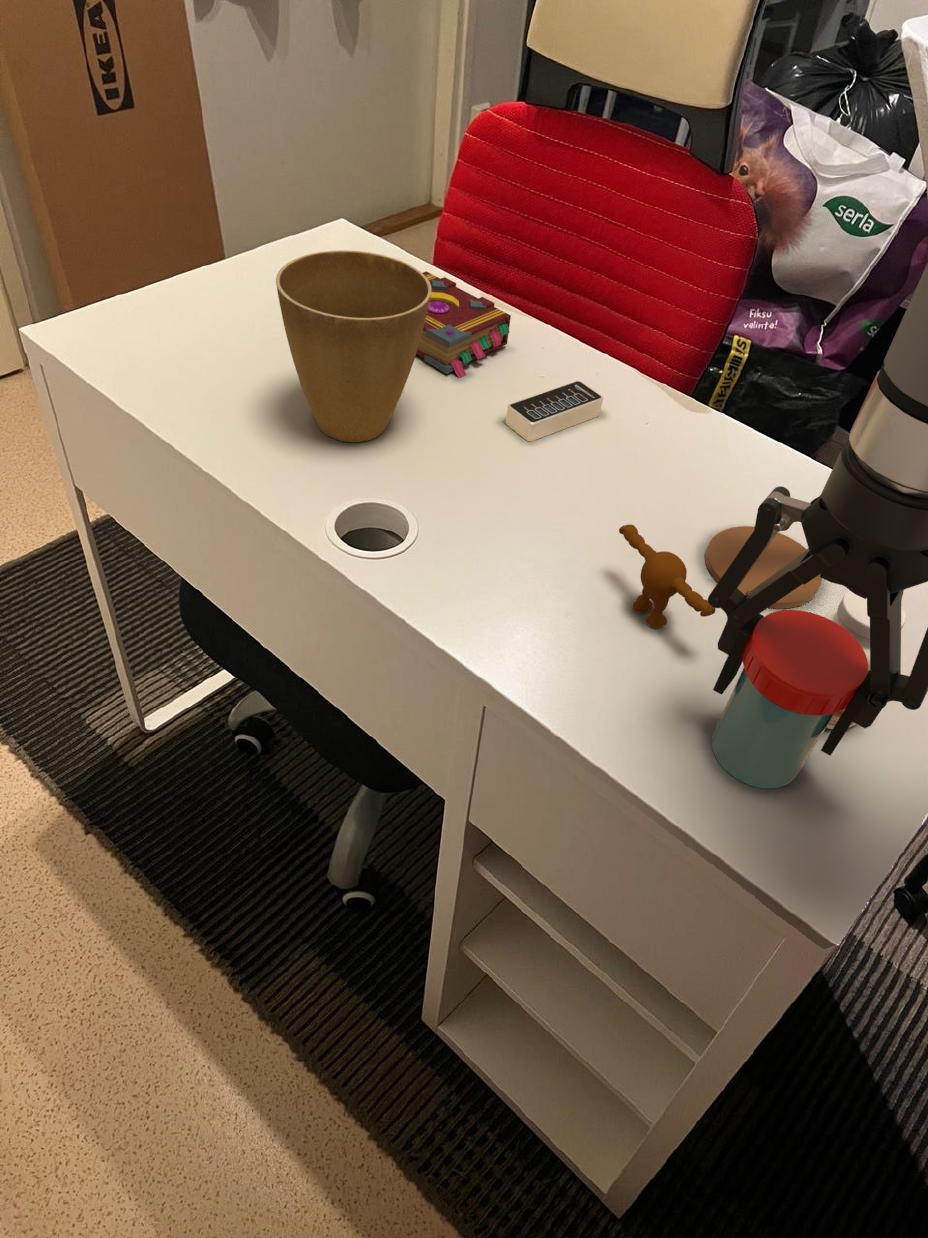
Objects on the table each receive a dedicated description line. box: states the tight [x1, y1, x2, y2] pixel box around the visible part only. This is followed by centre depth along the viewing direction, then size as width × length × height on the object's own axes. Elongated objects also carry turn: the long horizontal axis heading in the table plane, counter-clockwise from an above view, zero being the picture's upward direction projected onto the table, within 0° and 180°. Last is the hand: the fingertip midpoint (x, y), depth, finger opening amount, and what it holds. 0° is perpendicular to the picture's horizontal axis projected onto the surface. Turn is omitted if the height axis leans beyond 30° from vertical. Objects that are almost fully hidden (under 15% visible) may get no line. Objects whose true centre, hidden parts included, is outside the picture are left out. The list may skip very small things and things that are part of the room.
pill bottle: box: [823, 590, 907, 730], centre depth 72 cm, size 6×6×11 cm
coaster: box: [704, 525, 823, 610], centre depth 87 cm, size 11×11×1 cm
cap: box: [742, 609, 868, 716], centre depth 64 cm, size 8×8×2 cm
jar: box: [711, 667, 834, 789], centre depth 67 cm, size 7×7×11 cm
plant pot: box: [275, 249, 432, 443], centre depth 92 cm, size 15×15×16 cm
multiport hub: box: [505, 380, 604, 442], centre depth 102 cm, size 4×11×2 cm, turn 127°
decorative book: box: [416, 270, 512, 379], centre depth 111 cm, size 11×16×5 cm
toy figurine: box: [618, 524, 717, 629], centre depth 79 cm, size 12×4×7 cm, turn 29°
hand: (777, 711), depth 68 cm, fingers closed on cap, 8 cm apart
